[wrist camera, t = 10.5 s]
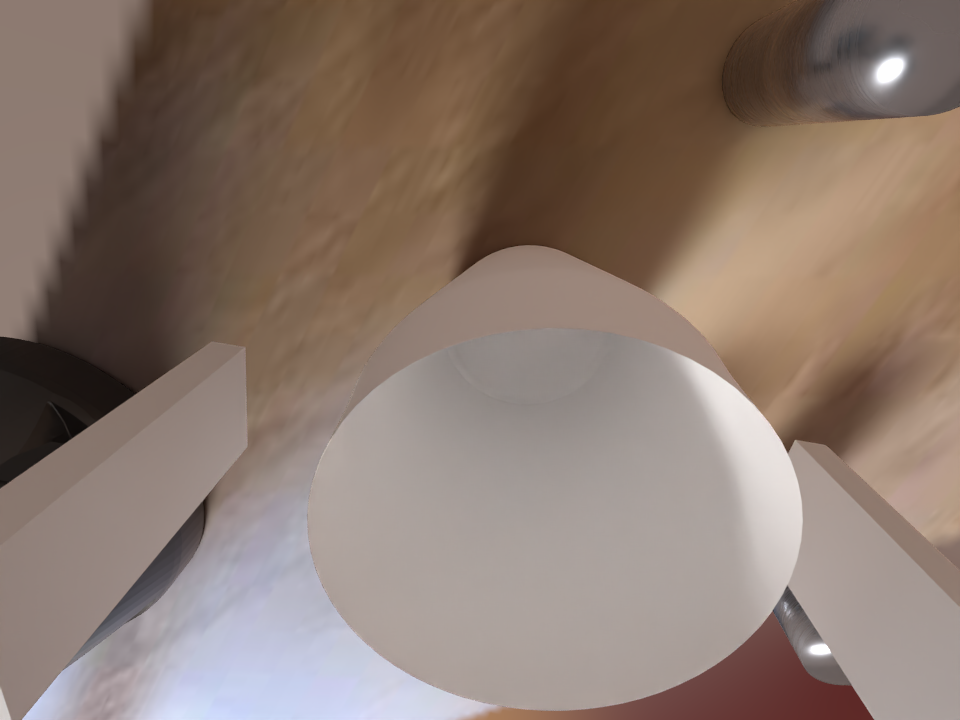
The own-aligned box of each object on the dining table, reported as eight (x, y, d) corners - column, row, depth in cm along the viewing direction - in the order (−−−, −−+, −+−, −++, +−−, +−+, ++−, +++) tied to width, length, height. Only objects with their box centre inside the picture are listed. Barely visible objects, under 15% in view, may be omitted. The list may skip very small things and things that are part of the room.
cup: (442, 181, 18) (334, 242, 7) (681, 249, 18) (931, 406, 7) (395, 396, 22) (274, 660, 11) (595, 448, 22) (679, 753, 11)
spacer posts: (576, 532, 24) (599, 674, 17) (744, 2, 15) (908, -98, 9) (969, 601, 24) (1134, 767, 18) (1347, 117, 16) (1929, 99, 9)
